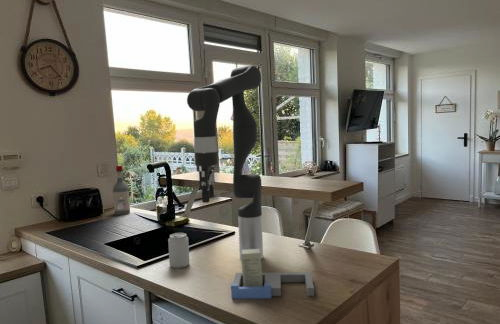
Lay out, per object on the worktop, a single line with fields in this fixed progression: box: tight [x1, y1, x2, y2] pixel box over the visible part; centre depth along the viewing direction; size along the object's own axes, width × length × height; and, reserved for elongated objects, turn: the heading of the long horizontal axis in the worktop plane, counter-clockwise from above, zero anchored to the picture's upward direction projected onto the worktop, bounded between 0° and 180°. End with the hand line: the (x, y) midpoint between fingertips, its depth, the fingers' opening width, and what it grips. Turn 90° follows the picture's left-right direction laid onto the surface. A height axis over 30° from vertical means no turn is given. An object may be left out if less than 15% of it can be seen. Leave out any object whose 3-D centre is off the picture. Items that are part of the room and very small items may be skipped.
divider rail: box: [230, 271, 315, 300], centre depth 118 cm, size 14×25×4 cm, turn 86°
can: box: [167, 232, 190, 269], centre depth 141 cm, size 8×8×12 cm
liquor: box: [112, 165, 131, 216], centre depth 232 cm, size 9×9×30 cm
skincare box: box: [241, 249, 264, 287], centre depth 119 cm, size 6×4×12 cm
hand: (208, 199), depth 123 cm, fingers open, 8 cm apart
